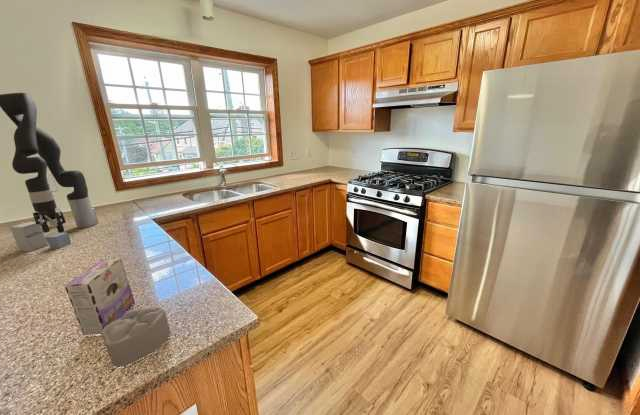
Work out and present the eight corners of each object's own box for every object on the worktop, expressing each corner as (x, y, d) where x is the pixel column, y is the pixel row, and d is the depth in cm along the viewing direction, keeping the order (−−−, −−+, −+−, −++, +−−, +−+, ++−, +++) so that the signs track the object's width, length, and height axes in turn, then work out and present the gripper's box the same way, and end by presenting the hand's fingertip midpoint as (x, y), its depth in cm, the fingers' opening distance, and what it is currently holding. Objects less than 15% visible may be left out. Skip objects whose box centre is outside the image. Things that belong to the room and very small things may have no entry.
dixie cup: (65, 226, 159) (59, 210, 156) (46, 229, 155) (40, 213, 152) (68, 222, 166) (62, 207, 163) (50, 225, 162) (44, 210, 158)
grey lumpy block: (106, 350, 66) (96, 322, 63) (162, 321, 75) (155, 296, 73) (117, 374, 59) (106, 344, 57) (177, 339, 69) (170, 311, 66)
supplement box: (30, 251, 126) (20, 227, 122) (19, 251, 127) (8, 226, 123) (48, 245, 133) (39, 221, 129) (37, 244, 134) (28, 221, 130)
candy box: (116, 304, 84) (101, 258, 79) (136, 303, 84) (122, 257, 79) (83, 338, 70) (62, 285, 65) (106, 335, 71) (87, 283, 66)
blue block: (62, 243, 134) (58, 232, 132) (71, 243, 133) (67, 232, 131) (50, 248, 129) (46, 237, 127) (60, 248, 128) (55, 237, 126)
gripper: (63, 198, 126) (74, 229, 131) (39, 198, 128) (50, 229, 133) (46, 202, 119) (58, 235, 124) (20, 202, 121) (33, 234, 126)
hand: (54, 232), depth 128 cm, fingers open, 8 cm apart
